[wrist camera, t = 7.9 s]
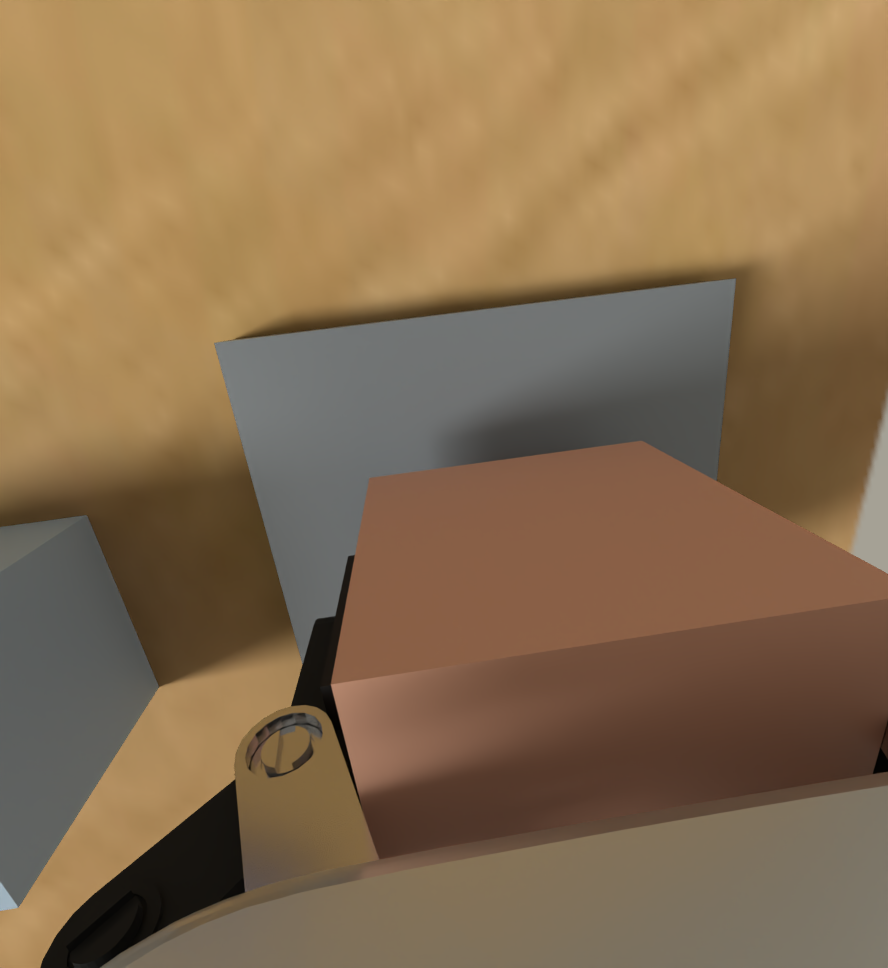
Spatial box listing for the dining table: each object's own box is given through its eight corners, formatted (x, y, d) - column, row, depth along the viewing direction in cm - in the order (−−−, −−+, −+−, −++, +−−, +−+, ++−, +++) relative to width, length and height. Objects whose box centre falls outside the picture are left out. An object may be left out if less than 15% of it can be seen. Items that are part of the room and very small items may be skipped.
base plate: (232, 339, 12) (213, 343, 11) (705, 281, 12) (735, 278, 11) (329, 711, 16) (323, 742, 15) (677, 656, 16) (697, 682, 15)
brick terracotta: (369, 477, 10) (330, 683, 5) (641, 440, 10) (923, 593, 5) (408, 694, 12) (415, 1018, 7) (634, 659, 13) (825, 943, 7)
